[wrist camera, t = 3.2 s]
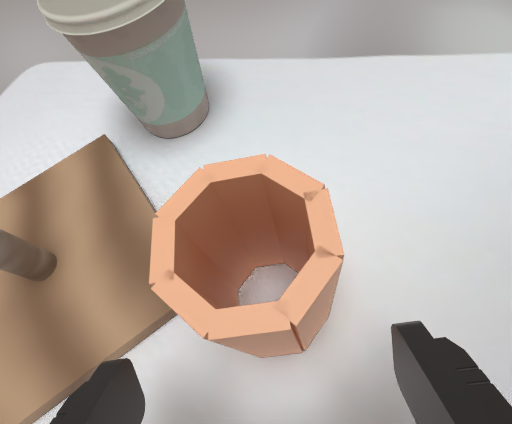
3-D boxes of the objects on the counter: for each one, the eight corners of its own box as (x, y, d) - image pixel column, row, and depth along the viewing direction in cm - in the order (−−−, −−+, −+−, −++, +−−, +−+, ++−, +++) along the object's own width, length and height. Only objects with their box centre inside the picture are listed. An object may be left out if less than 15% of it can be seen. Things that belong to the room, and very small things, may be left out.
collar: (315, 245, 20) (316, 144, 11) (336, 348, 17) (360, 320, 8) (223, 260, 20) (155, 174, 12) (228, 361, 18) (145, 348, 9)
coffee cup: (116, 111, 29) (3, -41, 18) (195, 64, 30) (131, -103, 20) (154, 170, 25) (38, 20, 14) (243, 114, 26) (196, -62, 16)
